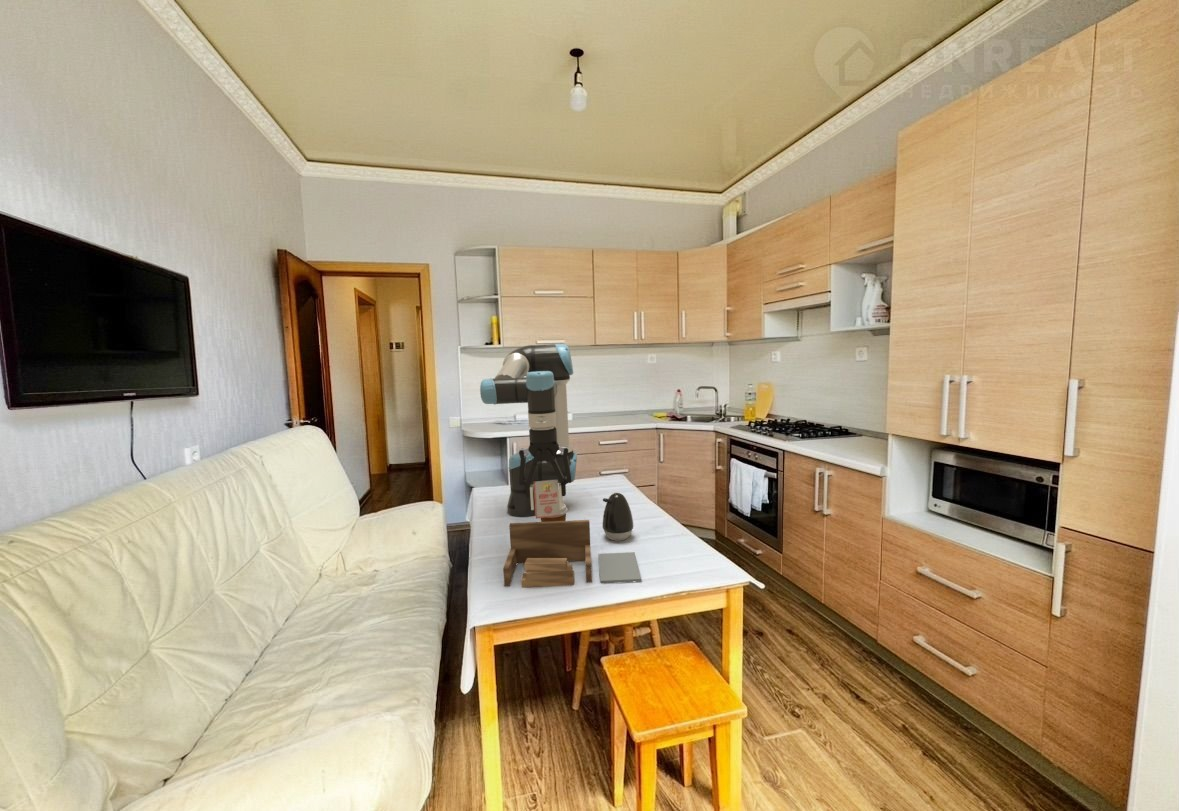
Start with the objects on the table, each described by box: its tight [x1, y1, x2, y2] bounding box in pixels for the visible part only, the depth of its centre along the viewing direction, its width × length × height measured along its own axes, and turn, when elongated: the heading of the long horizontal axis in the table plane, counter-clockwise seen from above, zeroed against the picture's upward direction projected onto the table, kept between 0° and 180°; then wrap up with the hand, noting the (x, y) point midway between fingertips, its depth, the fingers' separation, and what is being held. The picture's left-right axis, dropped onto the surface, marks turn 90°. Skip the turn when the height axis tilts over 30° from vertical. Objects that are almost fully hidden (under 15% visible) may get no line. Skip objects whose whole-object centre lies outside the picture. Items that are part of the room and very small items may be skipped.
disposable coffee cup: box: [540, 502, 569, 522], centre depth 146 cm, size 10×10×12 cm
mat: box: [597, 551, 643, 584], centre depth 127 cm, size 16×11×1 cm
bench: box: [502, 519, 593, 587], centre depth 126 cm, size 14×24×12 cm, turn 91°
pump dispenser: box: [602, 492, 634, 542], centre depth 147 cm, size 10×10×15 cm
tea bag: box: [534, 480, 560, 519], centre depth 125 cm, size 4×7×10 cm, turn 99°
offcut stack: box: [520, 558, 575, 588], centre depth 120 cm, size 5×14×6 cm, turn 91°
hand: (547, 507), depth 125 cm, fingers closed on tea bag, 7 cm apart
